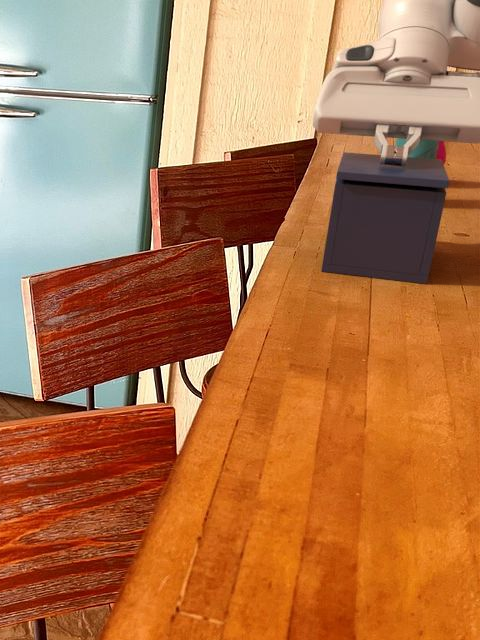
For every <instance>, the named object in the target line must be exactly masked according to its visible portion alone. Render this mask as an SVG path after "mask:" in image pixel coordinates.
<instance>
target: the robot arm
mask: <svg viewBox="0 0 480 640" xmlns="http://www.w3.org/2000/svg"><path fill="white" fill-rule="evenodd" d="M379 12H380V14H379V18H378V24H377V27H378V28H377V29H378V33H379V36H378V38H377V40H376V41H372V42H368V43H365V44H359V45H355V46H351V47H345V48H342V49H340V50H339V51H338V52H337V53H336V57H335V60H334V64H333V69H332V70H331V71H329V73H327V75H326V77H325V78H324V80H323V82H322V85H321V87H320V89H319V93H318V95H317V99H316V101H315V106H314V111H313V117H312V127H313V128H314V129H315V131H316V132H317V133H318V134H329V135H343V136H358V137H373V138H374V139H373V144H374V145H375V147H376V149H377V150H378V152H379V155H381V160H380V164H382V165H395V166H406V161H407V157H408V155H409V154H410V153H411V152H412V151H413V150H414V149H415V148H416V147H417V146H418V144H419V140H431V141H444V142H447V143H461V144H462V143H463V144H480V0H382V4H381V8H380V11H379ZM448 67H449V68H454V69H461V70H467V71H475V72H466V71H456V70H448ZM396 138H402V139H407V141H406V144H405V145H404V146H395V145H390V144H389V142H388V140H387V139H396Z"/></svg>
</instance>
